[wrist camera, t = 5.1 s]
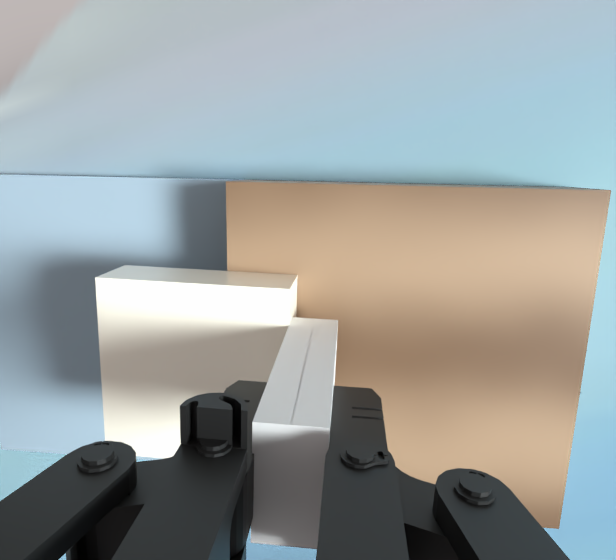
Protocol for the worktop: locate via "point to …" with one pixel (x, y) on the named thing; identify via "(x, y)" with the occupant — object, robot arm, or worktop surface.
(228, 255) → the board
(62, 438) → the mat
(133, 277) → the tile
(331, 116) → the worktop surface
